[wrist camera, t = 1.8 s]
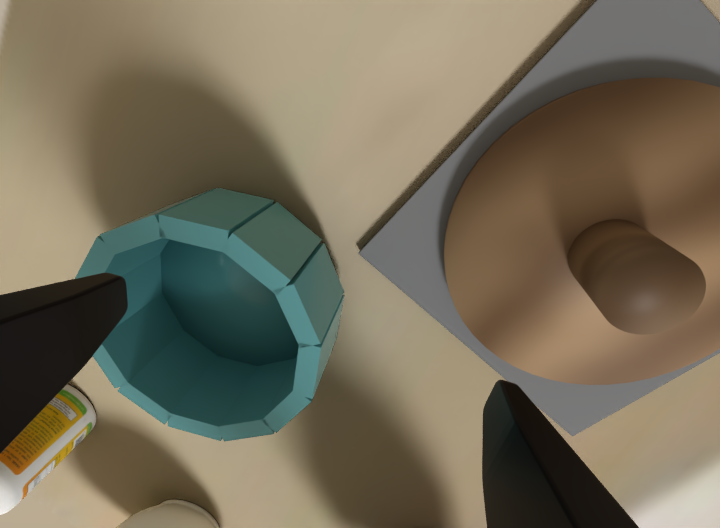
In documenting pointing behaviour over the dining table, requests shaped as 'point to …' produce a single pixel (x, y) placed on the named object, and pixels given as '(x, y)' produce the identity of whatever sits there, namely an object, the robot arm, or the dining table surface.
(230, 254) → the bowl
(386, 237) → the mat
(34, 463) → the supplement bottle
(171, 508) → the lidded jar
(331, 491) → the dining table surface
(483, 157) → the lid
